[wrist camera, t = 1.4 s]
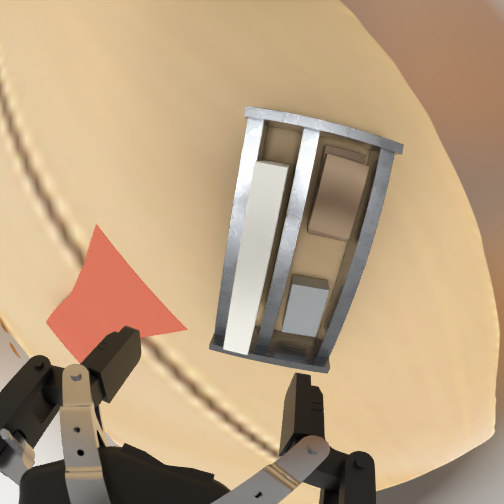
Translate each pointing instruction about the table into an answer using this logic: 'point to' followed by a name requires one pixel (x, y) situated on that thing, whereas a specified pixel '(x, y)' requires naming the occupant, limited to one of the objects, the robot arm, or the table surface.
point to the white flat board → (255, 252)
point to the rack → (362, 234)
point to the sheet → (108, 302)
